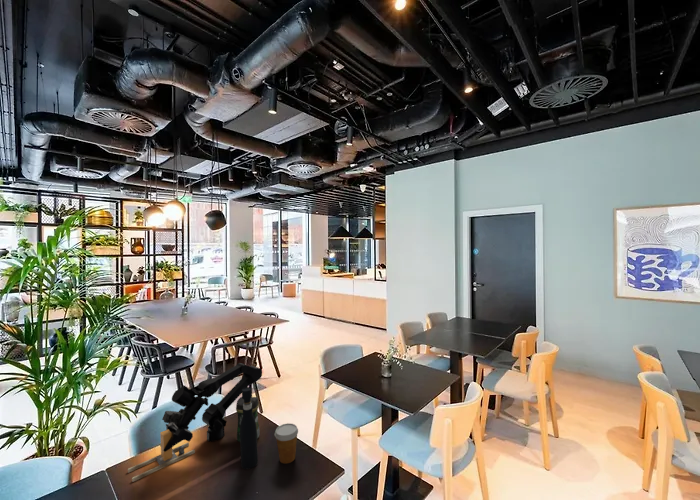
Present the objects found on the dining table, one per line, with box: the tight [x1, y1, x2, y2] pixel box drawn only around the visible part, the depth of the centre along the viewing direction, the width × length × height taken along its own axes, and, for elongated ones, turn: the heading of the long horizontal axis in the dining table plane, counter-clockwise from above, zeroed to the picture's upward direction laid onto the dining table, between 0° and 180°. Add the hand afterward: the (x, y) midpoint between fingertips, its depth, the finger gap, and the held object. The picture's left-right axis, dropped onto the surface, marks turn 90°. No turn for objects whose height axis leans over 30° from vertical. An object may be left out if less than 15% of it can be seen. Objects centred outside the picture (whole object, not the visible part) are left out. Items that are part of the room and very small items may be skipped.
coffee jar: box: [235, 396, 260, 443], centre depth 142 cm, size 10×8×19 cm
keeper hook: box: [176, 444, 185, 456], centre depth 131 cm, size 2×2×3 cm
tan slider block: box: [156, 429, 178, 466], centre depth 127 cm, size 6×6×11 cm
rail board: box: [127, 441, 196, 482], centre depth 126 cm, size 22×8×2 cm, turn 136°
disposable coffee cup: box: [274, 422, 299, 464], centre depth 127 cm, size 10×10×12 cm
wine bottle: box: [239, 386, 259, 470], centre depth 125 cm, size 6×6×30 cm
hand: (162, 448), depth 126 cm, fingers closed on tan slider block, 4 cm apart
